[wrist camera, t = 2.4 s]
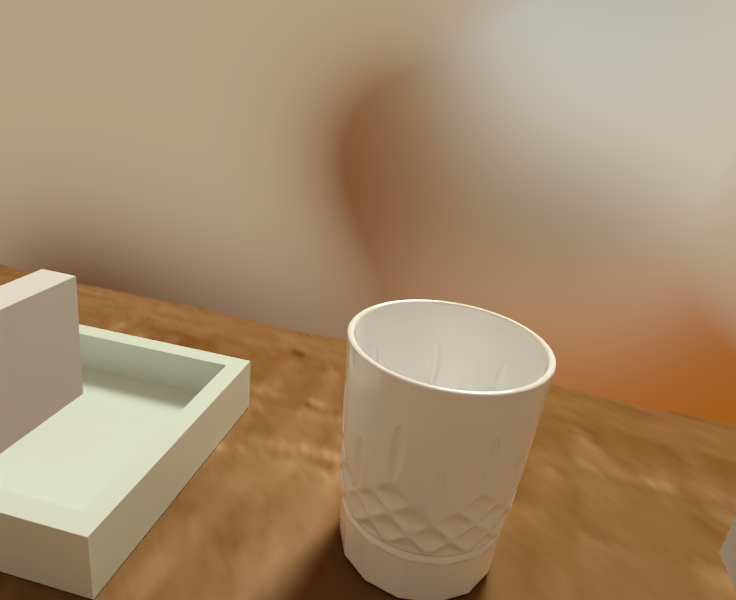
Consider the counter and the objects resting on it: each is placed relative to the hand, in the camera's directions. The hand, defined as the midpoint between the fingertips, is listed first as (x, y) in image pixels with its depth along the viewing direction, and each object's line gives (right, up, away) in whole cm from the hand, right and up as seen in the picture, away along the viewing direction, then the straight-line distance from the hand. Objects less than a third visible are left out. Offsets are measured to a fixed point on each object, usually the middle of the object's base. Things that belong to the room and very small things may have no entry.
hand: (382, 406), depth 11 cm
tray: (-18, -5, +19) cm, 26 cm away
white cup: (+2, -9, +15) cm, 18 cm away
